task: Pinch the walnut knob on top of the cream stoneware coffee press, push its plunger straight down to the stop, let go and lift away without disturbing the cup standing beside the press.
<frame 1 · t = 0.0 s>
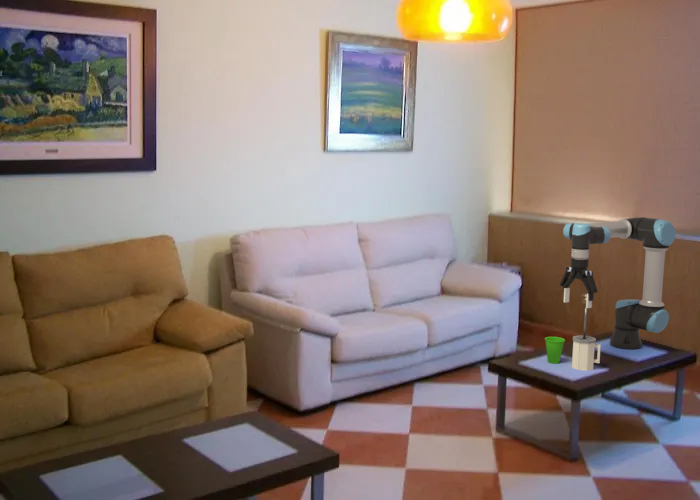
hand: (577, 305, 367), 28 cm above the table, fingers open, 13 cm apart
plunger: (585, 318, 364), point 22 cm above the table, slide at -0.1 cm, touching gripper
cup: (553, 362, 375), on the table
press: (582, 367, 368), on the table
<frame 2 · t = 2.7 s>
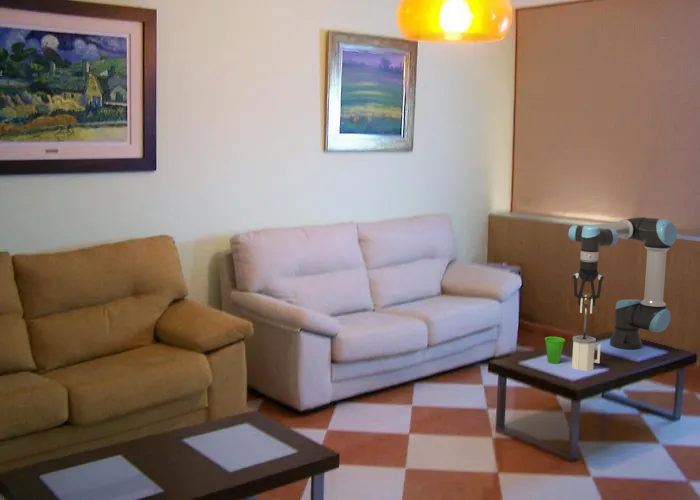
hand: (585, 312, 364), 25 cm above the table, fingers closed on plunger, 4 cm apart
plunger: (585, 318, 364), point 22 cm above the table, slide at -0.1 cm, touching gripper
everything else where it was.
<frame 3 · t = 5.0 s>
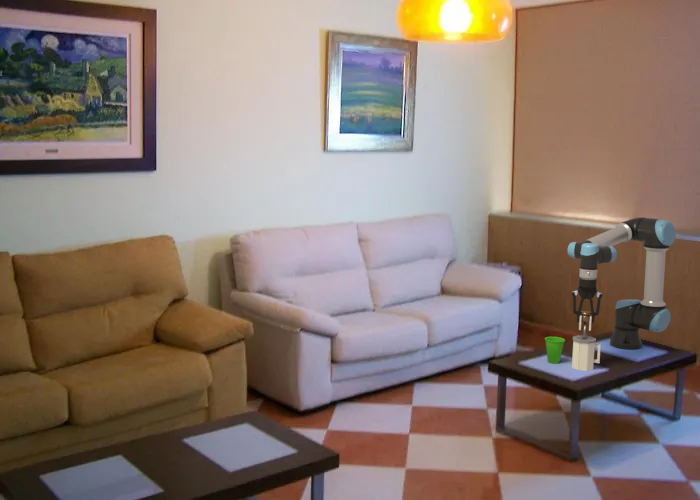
hand: (584, 329, 365), 18 cm above the table, fingers closed on plunger, 4 cm apart
plunger: (584, 336, 366), point 15 cm above the table, slide at 7.8 cm, touching gripper
everything else where it was.
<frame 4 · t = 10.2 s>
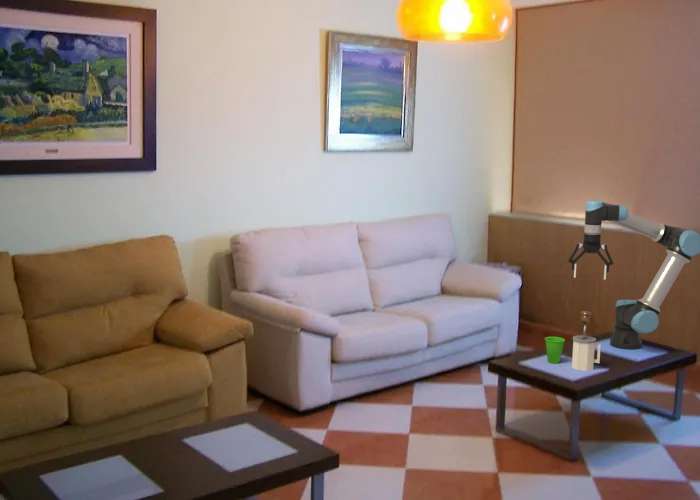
hand: (589, 278, 385), 37 cm above the table, fingers open, 13 cm apart
plunger: (584, 336, 366), point 15 cm above the table, slide at 7.8 cm
everything else where it was.
at the end: plunger slide at 7.8 cm; the gripper is holding nothing; cup moved 0.2 cm from its start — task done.
